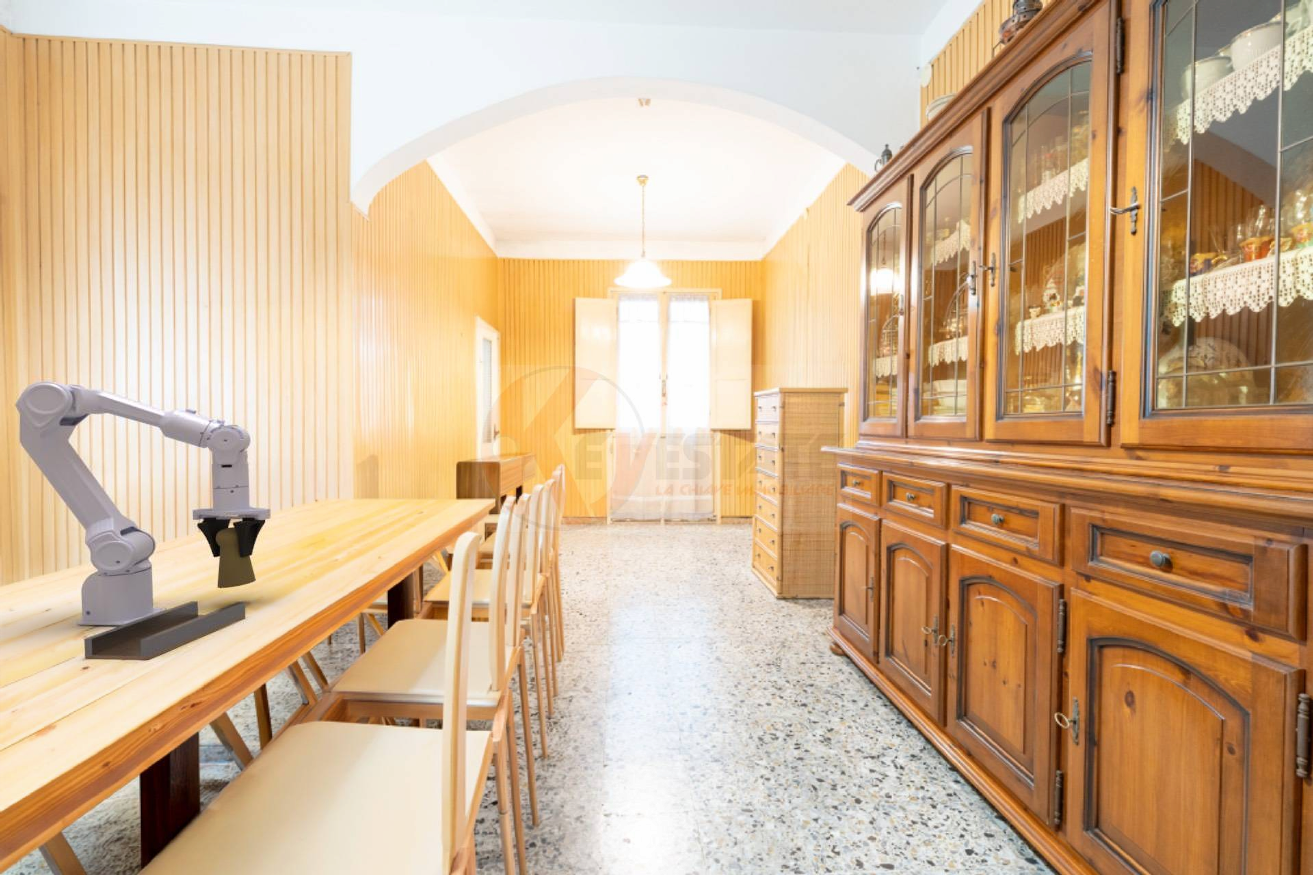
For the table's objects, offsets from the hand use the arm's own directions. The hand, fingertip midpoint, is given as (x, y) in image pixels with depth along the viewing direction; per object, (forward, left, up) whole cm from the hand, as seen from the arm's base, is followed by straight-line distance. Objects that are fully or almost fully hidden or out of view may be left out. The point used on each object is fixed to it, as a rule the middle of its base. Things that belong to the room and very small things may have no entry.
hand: (232, 556), depth 109 cm
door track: (+3, -16, -10) cm, 19 cm away
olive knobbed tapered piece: (+1, 0, -6) cm, 6 cm away
